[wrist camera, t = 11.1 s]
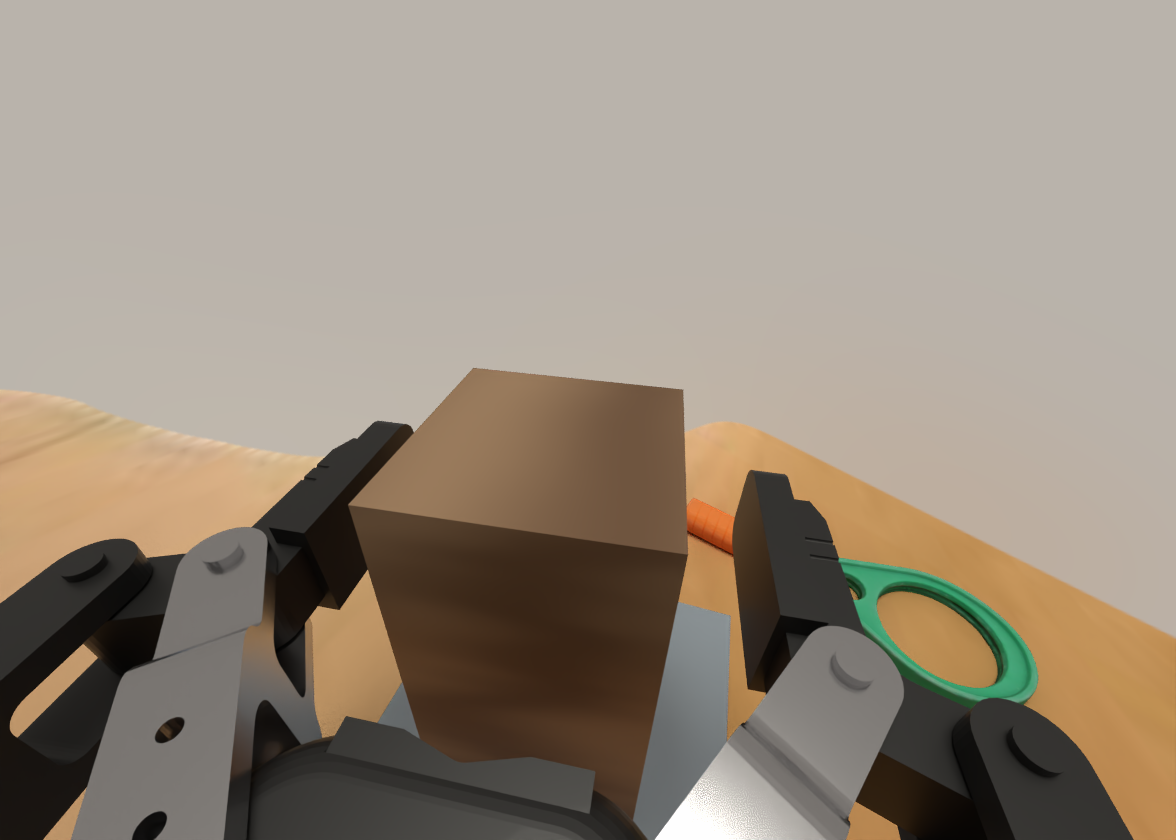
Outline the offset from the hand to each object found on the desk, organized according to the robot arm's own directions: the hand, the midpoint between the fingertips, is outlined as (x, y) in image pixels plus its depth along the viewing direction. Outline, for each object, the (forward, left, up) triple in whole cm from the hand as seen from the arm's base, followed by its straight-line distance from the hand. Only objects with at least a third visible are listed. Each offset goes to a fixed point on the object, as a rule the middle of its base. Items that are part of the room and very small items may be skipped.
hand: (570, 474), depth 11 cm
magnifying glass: (+4, +13, -12) cm, 18 cm away
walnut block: (+1, -2, -8) cm, 8 cm away
